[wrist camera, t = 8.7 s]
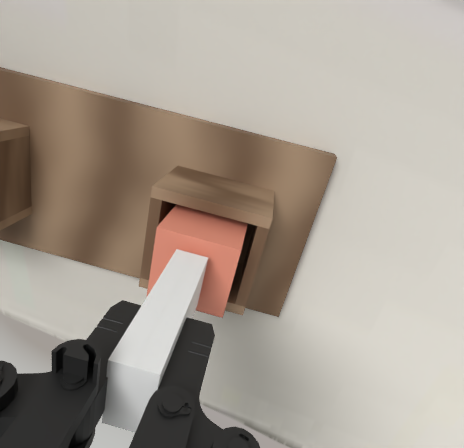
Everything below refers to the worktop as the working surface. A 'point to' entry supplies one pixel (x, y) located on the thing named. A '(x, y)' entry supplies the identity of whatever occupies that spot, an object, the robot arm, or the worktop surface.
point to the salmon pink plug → (201, 251)
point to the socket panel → (149, 184)
